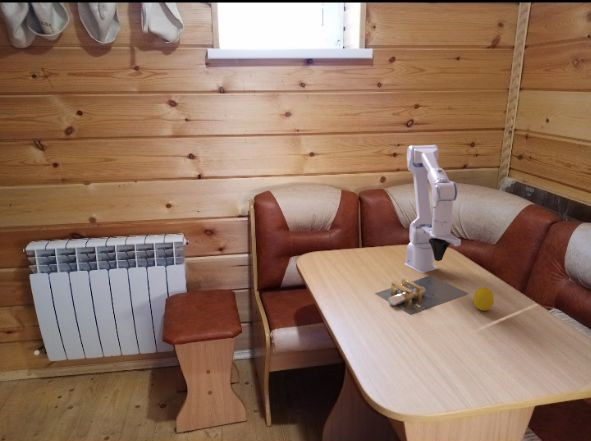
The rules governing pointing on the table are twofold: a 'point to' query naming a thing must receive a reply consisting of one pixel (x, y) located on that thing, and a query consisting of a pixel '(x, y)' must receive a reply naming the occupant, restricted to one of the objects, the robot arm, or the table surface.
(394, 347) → the table surface
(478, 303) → the lemon
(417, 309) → the plate
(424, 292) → the tube
